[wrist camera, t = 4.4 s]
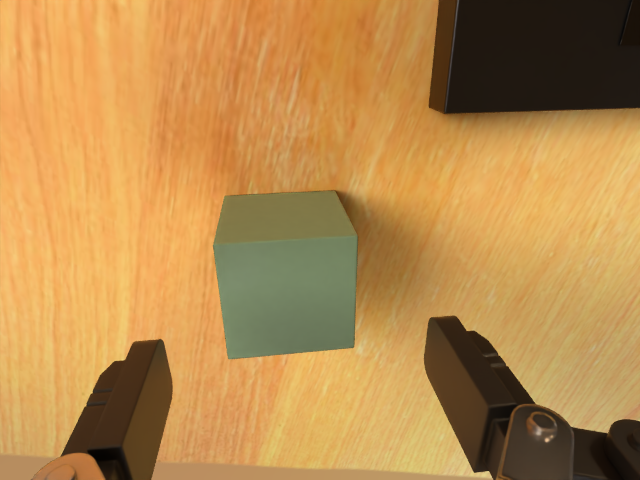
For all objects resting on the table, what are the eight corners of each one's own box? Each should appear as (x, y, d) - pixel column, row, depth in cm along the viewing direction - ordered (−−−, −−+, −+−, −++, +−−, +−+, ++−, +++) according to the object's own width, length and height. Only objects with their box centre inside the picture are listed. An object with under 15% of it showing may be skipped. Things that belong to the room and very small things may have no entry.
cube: (234, 291, 21) (227, 360, 16) (224, 195, 19) (212, 244, 14) (334, 283, 21) (354, 348, 17) (335, 189, 19) (358, 235, 15)
